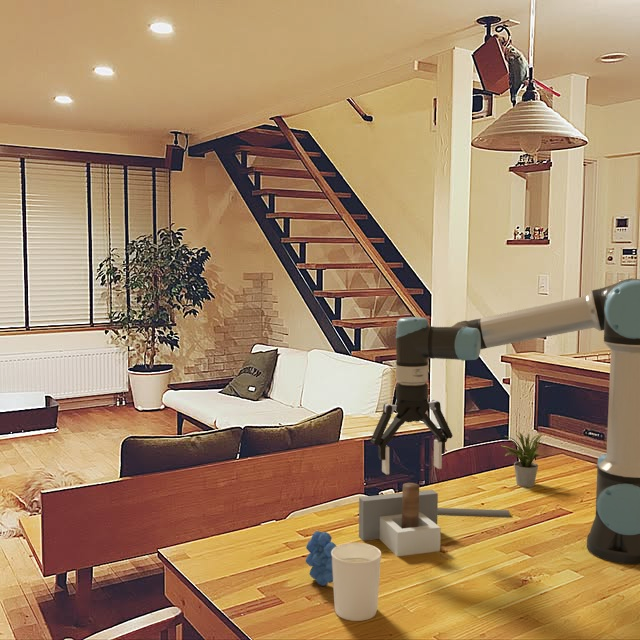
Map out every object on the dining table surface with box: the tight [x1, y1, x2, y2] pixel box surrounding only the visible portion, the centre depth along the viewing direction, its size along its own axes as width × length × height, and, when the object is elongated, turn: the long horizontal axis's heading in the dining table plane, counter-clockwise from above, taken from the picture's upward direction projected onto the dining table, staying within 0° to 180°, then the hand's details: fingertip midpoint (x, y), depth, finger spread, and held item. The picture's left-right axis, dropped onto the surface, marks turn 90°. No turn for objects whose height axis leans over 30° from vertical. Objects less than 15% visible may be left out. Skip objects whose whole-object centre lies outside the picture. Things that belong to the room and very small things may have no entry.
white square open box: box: [379, 512, 441, 557], centre depth 179 cm, size 11×11×6 cm
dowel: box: [401, 482, 420, 529], centre depth 179 cm, size 4×4×14 cm
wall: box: [358, 489, 439, 542], centre depth 186 cm, size 3×20×10 cm, turn 107°
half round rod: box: [437, 507, 511, 519], centre depth 201 cm, size 4×20×2 cm, turn 85°
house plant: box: [500, 431, 546, 488], centre depth 227 cm, size 14×14×16 cm
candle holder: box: [331, 542, 382, 622], centre depth 146 cm, size 10×10×12 cm
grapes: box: [305, 530, 337, 587], centre depth 157 cm, size 12×7×12 cm, turn 30°
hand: (411, 470), depth 178 cm, fingers open, 13 cm apart
